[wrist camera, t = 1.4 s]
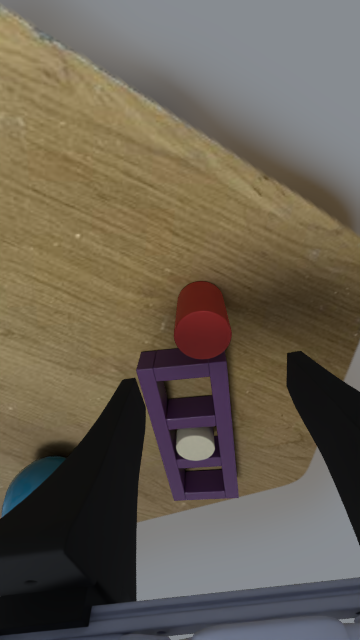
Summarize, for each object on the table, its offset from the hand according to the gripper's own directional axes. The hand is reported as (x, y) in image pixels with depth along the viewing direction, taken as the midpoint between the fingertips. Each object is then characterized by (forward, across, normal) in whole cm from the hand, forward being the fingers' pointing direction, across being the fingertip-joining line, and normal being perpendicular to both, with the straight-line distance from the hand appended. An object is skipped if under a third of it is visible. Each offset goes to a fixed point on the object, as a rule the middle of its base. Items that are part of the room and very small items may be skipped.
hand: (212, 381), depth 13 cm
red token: (+9, 0, +1) cm, 9 cm away
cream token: (+9, +2, +14) cm, 17 cm away
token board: (+9, +2, +14) cm, 17 cm away
